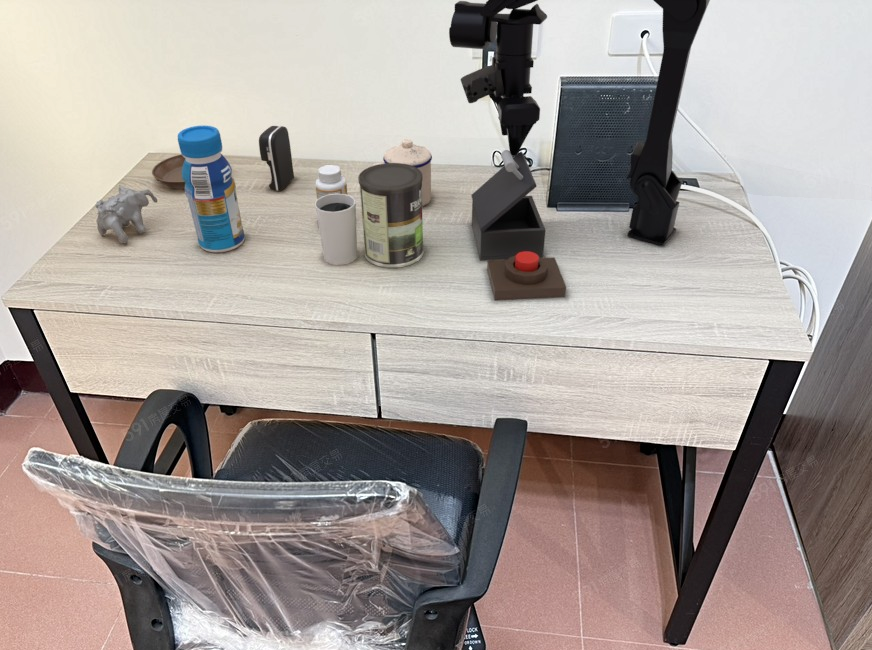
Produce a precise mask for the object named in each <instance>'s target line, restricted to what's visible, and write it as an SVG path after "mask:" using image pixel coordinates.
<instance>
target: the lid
mask: <svg viewBox="0 0 872 650" xmlns="http://www.w3.org/2000/svg"><path fill="white" fill-rule="evenodd" d="M500 157H501V160H502V162H503V163H502V164H503V167H501V168H500V169H499V170H498V171H497V172H495V173H494V174H493V175H492V176H491V177H490V178H489V179H488V180H486V181H485V182H484V183H483V184H482V185H481V186H479V188H478V189H476V190H475V191H474V192H473V193H471V199H472V200H473V204H474V208H475V212H476V216H477V220H478V224H479V228H480V230H481V231H482V232H483V231H484V230H486V229H487V228H488V227H489V226H490V225H492V224H493V223H494V222H495V221H496V220H498V219H499V218H500V217H501V216H502V215H503V214H505V213H506V212H507V211H508V210H509V209H511V208H512V207H513V206H514V205H515V204H517V203H518V202H519V201H520V200H521V199H522V198H524V197H525V196H528V195H529V194H530V193H531V192H532V191H533V190H534V189H535V188H537V187H538V185H537V183H536V181H535V178H534V176H533V173H532V170H531V169H530V166H529V164H528V161H527V159H526V156H525V154H524V153H523V152H522V151H519V152H518V154H517V155H515V156H514V157H513V156H512V155H511V153H510V150H508V149H505V150H502V152H501V153H500Z"/></svg>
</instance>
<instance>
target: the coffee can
mask: <svg viewBox="0 0 872 650" xmlns="http://www.w3.org/2000/svg"><path fill="white" fill-rule="evenodd" d="M384 163H385V162H384ZM422 179H423V175H422V172H421V171H420V170H419V169H418V168H416V167H414V166H411V165H407V164H401V163H385V164H379V165H374V166H372V165H371V166H368V167H367V168H365V169H363V170H362V171H361V172H360V173H359V174H358V177H357V180H358V184H359V195H360V207H361V219H362V230H363V245H364V257H365V259H366V260H367V261H368V262H369V263H370V264H372V265H374V266H377V267H381V268H387V269H396V268H397V269H398V268H404V267H408V266H410V265H411V266H412V265H413V264H415V263H417V262H419V261H420V260H421V259H422V257H423V256H424V226H423V225H424V223H423V222H424V221H423V219H424V218H423V206H422Z"/></svg>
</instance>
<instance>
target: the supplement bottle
mask: <svg viewBox="0 0 872 650" xmlns="http://www.w3.org/2000/svg"><path fill="white" fill-rule="evenodd" d="M317 173H318V174H317V176H318V178H317V179H316V180H315V192H316V200H317V199H319V198H321V197H322V196H326V195H329V194H346V195H349V194H348V186H347V180H346V178H345V177H344V176H343V175H342V171H341V167H340V166H338V165H336V164H325V165H322V166H321V167H319V168H318V170H317Z"/></svg>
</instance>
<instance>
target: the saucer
mask: <svg viewBox="0 0 872 650" xmlns="http://www.w3.org/2000/svg"><path fill="white" fill-rule="evenodd" d="M184 161H185V157H183V156H182V154H181V153H180V154H177V155H173V156H171V157H168V158H166V159H164V160H161V161H160V162H158V163H157V164H156V165H154V166H153V168H152V170H151V175H152V177H154V178H155V179H156V180H157V181H158V182H159V183H161V184H163V185H165V186H167V187H168V188H169V187H170V188H172V189H178V190H179V189H180V190H183V189H184V190H185V183H186V182H185V181H184V180H183V178H182V167H183V163H184Z"/></svg>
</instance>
